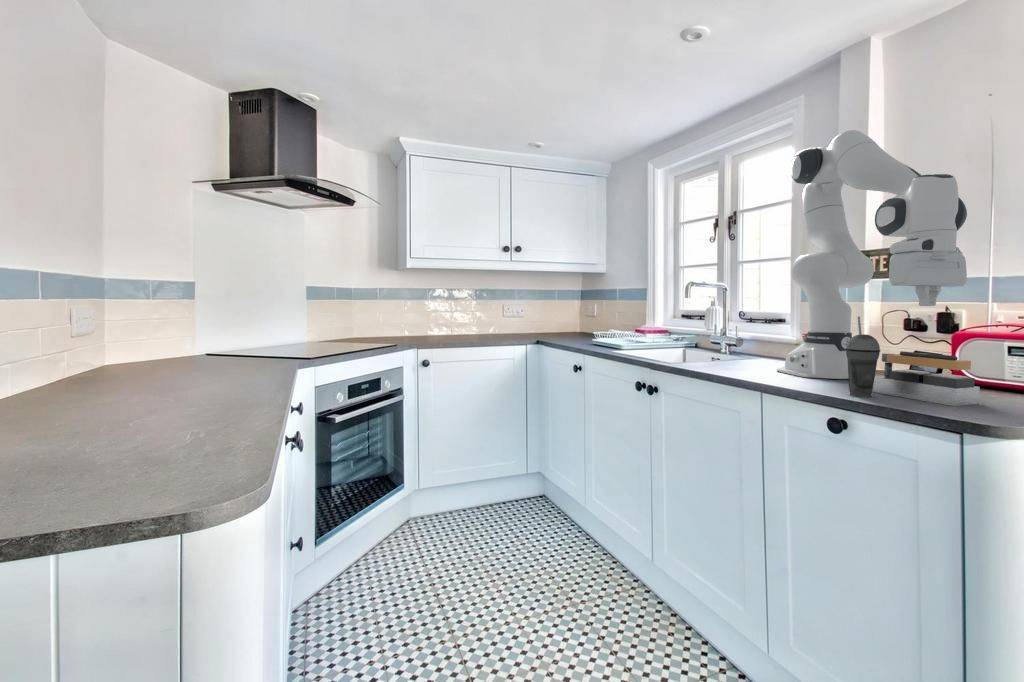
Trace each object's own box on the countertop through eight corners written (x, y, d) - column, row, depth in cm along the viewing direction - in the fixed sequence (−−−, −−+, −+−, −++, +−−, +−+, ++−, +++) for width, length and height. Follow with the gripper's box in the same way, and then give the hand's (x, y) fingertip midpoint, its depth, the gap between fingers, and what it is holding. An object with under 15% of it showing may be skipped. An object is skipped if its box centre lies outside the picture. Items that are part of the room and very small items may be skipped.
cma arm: (876, 361, 131) (877, 349, 131) (889, 360, 133) (889, 349, 132) (957, 370, 114) (958, 357, 113) (970, 369, 115) (971, 356, 115)
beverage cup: (876, 399, 120) (880, 317, 119) (840, 395, 125) (844, 316, 124) (879, 395, 126) (884, 316, 124) (845, 392, 131) (849, 315, 129)
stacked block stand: (868, 391, 132) (869, 362, 131) (890, 389, 134) (891, 361, 134) (954, 406, 113) (956, 372, 112) (978, 404, 115) (980, 371, 115)
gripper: (946, 248, 120) (943, 306, 121) (884, 245, 114) (881, 306, 115) (977, 245, 114) (974, 306, 115) (913, 242, 108) (910, 306, 109)
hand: (927, 306), depth 115 cm, fingers closed
